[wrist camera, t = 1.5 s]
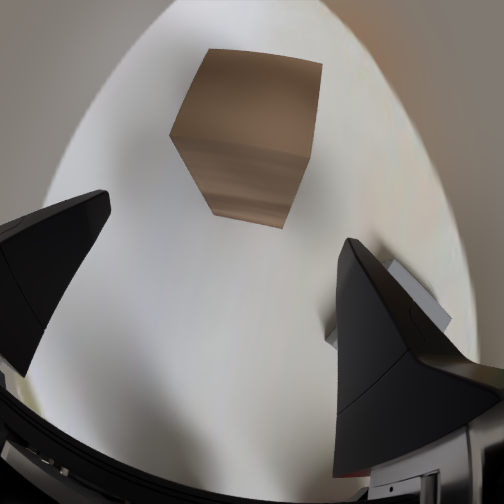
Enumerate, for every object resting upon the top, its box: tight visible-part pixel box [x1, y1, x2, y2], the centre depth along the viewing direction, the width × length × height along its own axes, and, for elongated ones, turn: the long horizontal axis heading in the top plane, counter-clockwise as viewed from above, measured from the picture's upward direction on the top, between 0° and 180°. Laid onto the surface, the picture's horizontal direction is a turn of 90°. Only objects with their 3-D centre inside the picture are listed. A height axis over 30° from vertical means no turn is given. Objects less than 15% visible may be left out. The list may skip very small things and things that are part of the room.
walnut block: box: [169, 49, 323, 229], centre depth 16 cm, size 6×6×12 cm
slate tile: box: [325, 259, 452, 350], centre depth 19 cm, size 8×8×2 cm
